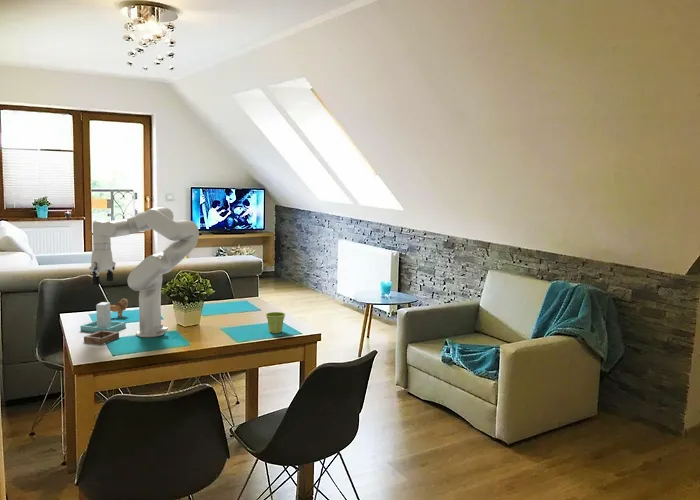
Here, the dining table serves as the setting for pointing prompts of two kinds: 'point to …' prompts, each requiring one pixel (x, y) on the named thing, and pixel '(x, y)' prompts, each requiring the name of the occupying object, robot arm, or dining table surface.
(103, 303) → the skincare box
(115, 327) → the tray
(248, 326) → the dining table surface
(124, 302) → the lion figurine
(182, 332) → the dining table surface
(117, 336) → the holder collar
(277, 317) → the plant pot
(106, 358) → the dining table surface
